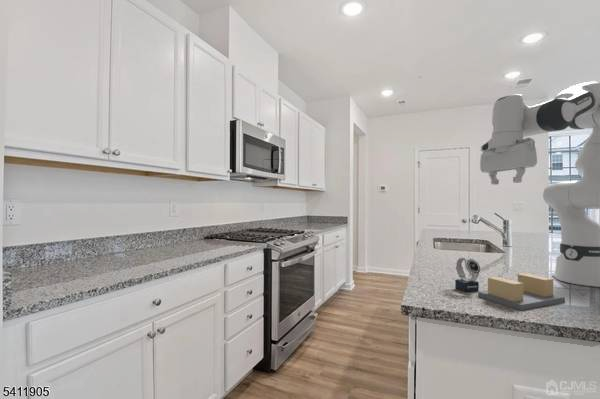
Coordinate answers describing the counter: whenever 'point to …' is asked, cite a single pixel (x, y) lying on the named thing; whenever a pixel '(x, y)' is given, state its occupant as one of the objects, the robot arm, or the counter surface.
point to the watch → (474, 270)
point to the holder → (522, 292)
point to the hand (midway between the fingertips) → (505, 183)
